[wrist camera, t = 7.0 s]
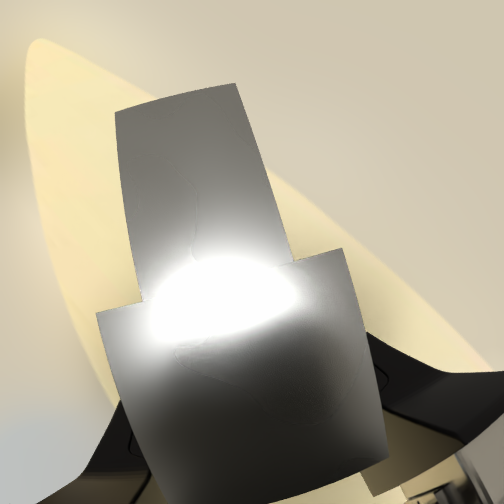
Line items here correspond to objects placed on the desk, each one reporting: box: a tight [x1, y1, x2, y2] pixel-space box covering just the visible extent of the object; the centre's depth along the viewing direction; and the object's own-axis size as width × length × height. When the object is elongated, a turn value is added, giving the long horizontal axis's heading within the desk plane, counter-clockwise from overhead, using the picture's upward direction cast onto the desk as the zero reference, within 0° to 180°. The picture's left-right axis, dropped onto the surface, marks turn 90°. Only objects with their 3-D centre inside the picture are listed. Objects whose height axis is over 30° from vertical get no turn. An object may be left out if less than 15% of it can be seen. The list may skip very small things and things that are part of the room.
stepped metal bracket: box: [96, 83, 389, 504], centre depth 10 cm, size 6×3×13 cm, turn 15°
